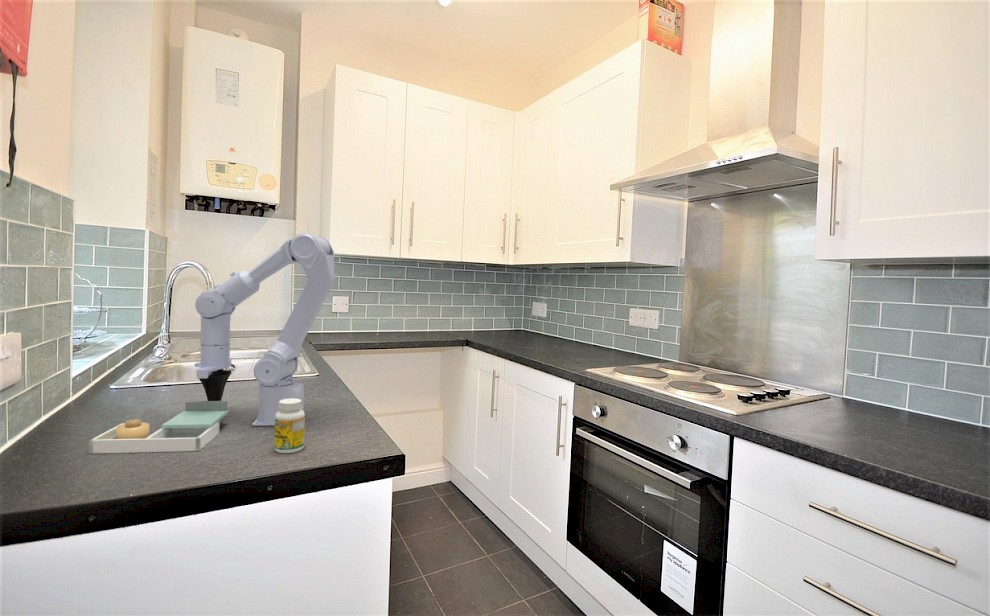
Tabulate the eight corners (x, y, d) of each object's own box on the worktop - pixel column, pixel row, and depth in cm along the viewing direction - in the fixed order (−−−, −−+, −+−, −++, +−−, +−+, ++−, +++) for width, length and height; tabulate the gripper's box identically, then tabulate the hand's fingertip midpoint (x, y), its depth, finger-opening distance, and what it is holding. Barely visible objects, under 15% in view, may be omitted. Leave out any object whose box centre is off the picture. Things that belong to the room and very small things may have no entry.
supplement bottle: (310, 447, 91) (311, 400, 91) (286, 456, 87) (287, 406, 86) (292, 442, 94) (293, 395, 93) (268, 449, 89) (269, 401, 89)
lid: (229, 412, 103) (229, 400, 103) (210, 427, 93) (210, 414, 92) (185, 412, 101) (185, 401, 101) (161, 428, 91) (161, 415, 91)
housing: (219, 433, 97) (219, 422, 97) (199, 450, 87) (199, 438, 87) (121, 434, 93) (121, 423, 93) (89, 453, 83) (88, 440, 83)
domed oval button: (154, 439, 92) (154, 417, 92) (140, 448, 87) (140, 424, 87) (125, 439, 91) (126, 417, 91) (109, 448, 86) (110, 424, 86)
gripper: (209, 339, 111) (208, 394, 112) (180, 348, 97) (180, 412, 98) (240, 340, 112) (240, 394, 113) (217, 349, 98) (216, 411, 99)
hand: (214, 402), depth 106 cm, fingers closed
